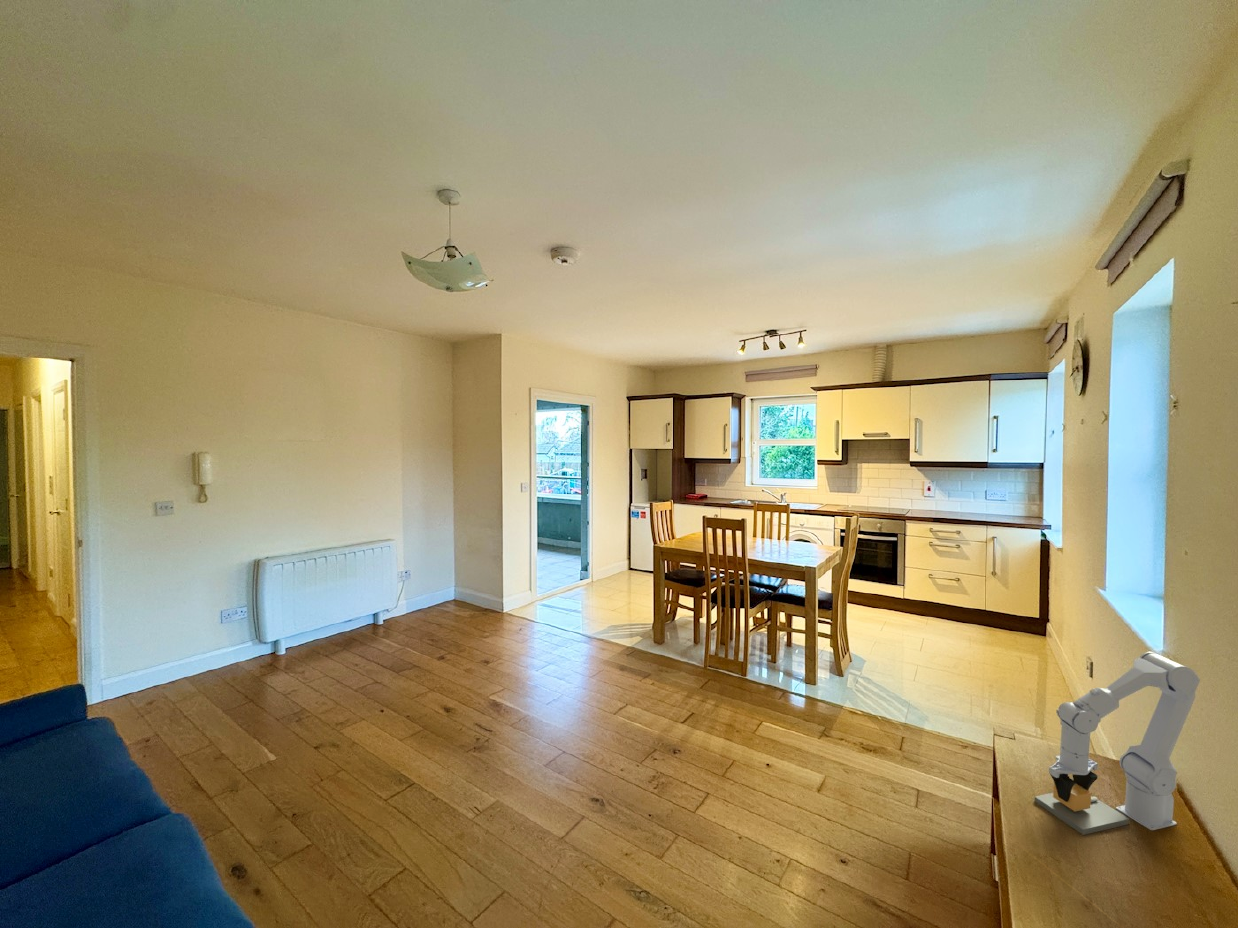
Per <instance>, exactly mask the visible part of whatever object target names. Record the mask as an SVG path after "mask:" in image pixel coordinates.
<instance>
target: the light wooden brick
mask: <svg viewBox="0 0 1238 928" xmlns="http://www.w3.org/2000/svg"><path fill="white" fill-rule="evenodd" d="M1052 793H1053V797H1054V798H1055V799H1057V800H1058V801H1060V802H1061V803H1063V804H1064V805H1066V806H1067V807H1069V808H1070V809H1072V810H1073V811H1080V810H1084V809H1089V808H1090V804H1091V796H1092V792H1090V791H1089V790H1088V791H1087V790H1086V789H1084V788H1082V787H1081V786H1079V785H1078V784H1076V783H1075V784H1074V786H1073V787H1072V790H1071V794H1070V798H1069V800H1068V802H1065V801H1064V800H1062V799H1061V798H1059V797H1058V793H1057V789H1056V786H1055V783H1054V782H1053V792H1052Z"/></svg>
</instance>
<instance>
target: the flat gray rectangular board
mask: <svg viewBox="0 0 1238 928" xmlns="http://www.w3.org/2000/svg"><path fill="white" fill-rule="evenodd" d="M1034 803H1036V804H1037V805H1039V806H1040V807H1042V808H1043V809H1045V810H1046V811H1048V812H1049V813H1051V815H1053V816H1055V817H1056V818H1058V819H1059V820H1060V821H1062V822H1063V823H1065V824H1066V825H1067V826H1069V827H1070V828H1072V829H1074V830H1075V831H1076V832H1078V833H1080V834H1081V835H1082V836H1084V835H1089V834H1093V833H1097V832H1101V831H1106V830H1109V829H1114V828H1119V827H1123V826H1127V825H1129V824H1130V817H1128V816H1127V815H1125V814H1123V813H1122V812H1120V811H1118V810H1117V809H1114V808H1112V807H1111V806H1110V805H1107V804H1106V803H1105V802H1103V801H1101V800H1100V799H1098V797H1097V796H1093V795H1091V804H1090V808H1089V809H1084V810H1080V811H1073V810H1072V809H1070V808H1069V807H1067V806H1066V805H1064V804H1063V803H1061V802H1060V801H1058V800H1057V799H1055V798H1054V797H1053V792H1050V793H1045V794H1041V795H1036V796H1034Z"/></svg>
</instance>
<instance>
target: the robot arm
mask: <svg viewBox="0 0 1238 928" xmlns="http://www.w3.org/2000/svg"><path fill="white" fill-rule="evenodd" d="M1200 681H1201V679H1200V677H1199V676H1198V674H1196V672H1195V671H1194V670H1193V669H1192V668H1190V667H1188V666H1187V665H1182V664H1180V663H1178V662H1176V661H1174V660H1171V658H1170V659H1169V658H1168V657H1165V656H1162V655H1161V654H1160V653H1158V652H1155V651H1146V652H1144V653H1142V654H1141V655H1140V656H1139V657H1137V658H1135V659H1134V661H1133V667H1132V668H1131V669H1129V670H1128V671H1126V672H1125V673H1123V674H1122V675H1121V676H1120V677H1118V678H1117V679H1116V680H1114V681H1113V682H1112V683H1111V684H1109V685H1108V686H1107V687H1105V688H1103V687H1095V688H1092V689H1090V690H1089V691H1088V692H1087V693H1086V694H1084V695H1083V696H1081V697H1080V698H1078V699H1076V700H1075V701H1073V702H1072V701H1069V702H1068V701H1067V702H1062V703H1061V704H1060V705H1059V707H1058V709H1056V715H1057V717H1058V718H1059V720H1060V725H1061V733H1060V748H1059V755H1056V756H1055V760H1056V762H1054V763H1053V765H1051V766H1048V775H1050V777H1051V778H1052V780H1053V784H1054V783H1055V786H1056V789H1057V793H1058V797H1059V798H1061V799H1062V800H1064V801H1065V802H1068V800H1069V798H1070V794H1071V790H1072V787H1073V786H1074V784H1075V783H1076V784H1078V785H1079V786H1081V787H1082V788H1084V789H1086V790H1087V791H1089V790H1090V787H1092V785H1093V784H1094V782H1095V781H1096V780H1098V777H1099V776H1098V775H1097V774H1096V773H1095V772H1092V770H1093V771H1097V770H1098V768H1099V767H1098V766H1099V763H1098V762H1096V761H1094V760H1092V759H1091V758H1089V757H1090V744H1091V742H1090V741H1091V733H1093V732H1095V731H1096V730H1097V728H1098V725H1099V724H1100V723H1101V721H1102V719H1103V718H1105V717H1106V716H1108V715H1109V714H1111V713H1112V712H1114V711H1115V710H1117V709H1119V707H1120V700H1122V699H1124V698H1126V697H1128V696H1130V695H1132V694H1134V693H1136V692H1139V691H1140V690H1142V689H1144V688H1147V687H1154V688H1159V691H1161V695H1160V697H1159V700H1158V701H1157V704H1156V706H1155V709H1154V712H1153V714H1152V717H1151V718H1150V721H1149V723H1148V725H1147V728H1146V730H1145V733H1144V735H1143V738H1142V740H1141V741H1140V742H1141V743H1140V744H1137V745H1129V746H1128V748H1127V750H1126V751H1125V752H1124V753H1123V754H1122V755H1121V756H1120V757H1119V766H1120V768H1121V769H1122V771H1124V776H1125V778H1126V784H1125V785H1126V787H1125V797H1124V798H1125V799H1124V800H1125V801H1124V805H1123V804H1122V805H1120V806H1116V807H1115V810H1116V811H1118V812H1119V813H1121V814H1122V815H1124V816H1126V817H1127V818H1129V819H1132V820H1133V821H1135V822H1136V823H1138V824H1140V825H1141V826H1143V827H1145V828H1147V829H1148V830H1149V831H1155V830H1160V829H1164V828H1168V827H1173V826H1176V825H1177V822H1176V821H1175V820H1173V817H1174V816H1173V815H1174V804H1175V799H1174V796H1173V794H1172V793H1173V792H1174V791H1175V790H1176V786H1177V782H1176V778H1177V774H1178V771H1177V769H1176V768H1175V766H1174V764H1173V763H1172V761H1171V759H1170V758H1171V755H1172V753H1173V751H1174V749H1175V746H1176V744H1177V742H1178V739H1179V737H1180V735H1181V732H1182V730H1183V727H1184V725H1185V723H1186V720H1187V718H1188V716H1189V713H1190V711H1191V708H1192V706H1193V704H1194V702H1195V700H1196V692H1197V691H1196V690H1198V686H1199V684H1200ZM1069 775H1072V778H1070V776H1069Z"/></svg>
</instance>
